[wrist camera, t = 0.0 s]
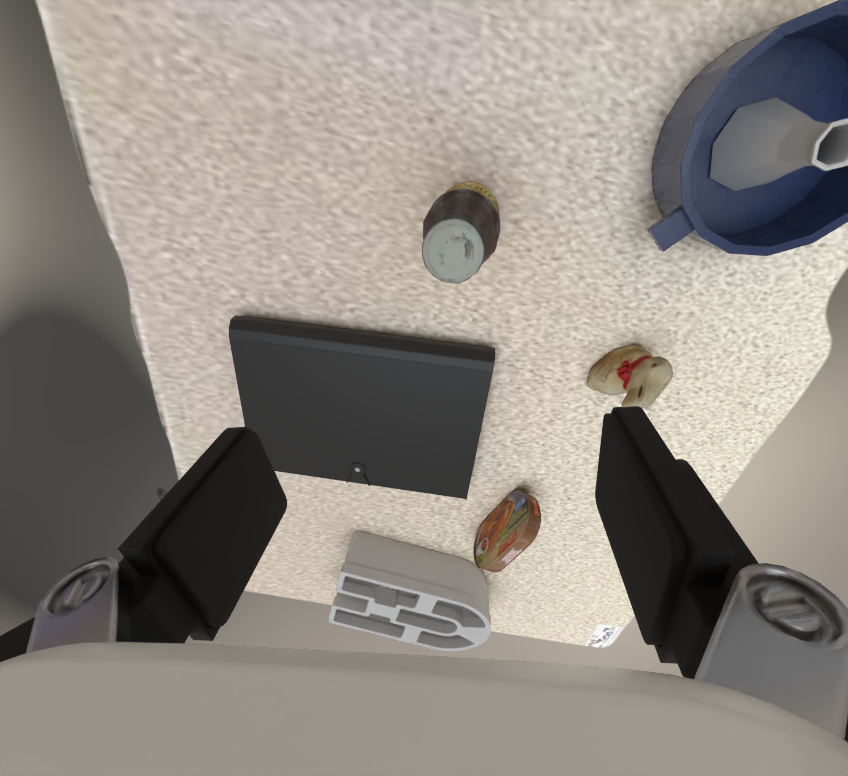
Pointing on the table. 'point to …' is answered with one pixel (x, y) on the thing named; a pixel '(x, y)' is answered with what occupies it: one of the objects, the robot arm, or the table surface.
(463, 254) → the sauce bottle
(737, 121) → the flask
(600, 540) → the table surface
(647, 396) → the chocolate bunny
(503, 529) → the tin
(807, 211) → the pot
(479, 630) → the grey compartment organizer
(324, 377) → the file folder
